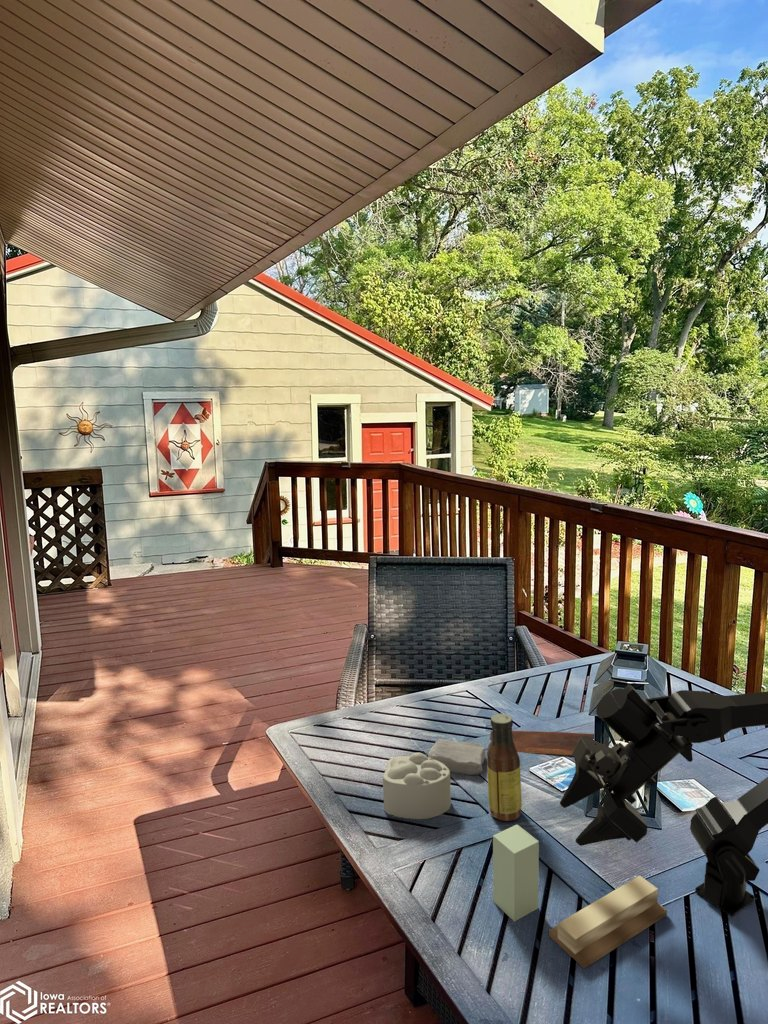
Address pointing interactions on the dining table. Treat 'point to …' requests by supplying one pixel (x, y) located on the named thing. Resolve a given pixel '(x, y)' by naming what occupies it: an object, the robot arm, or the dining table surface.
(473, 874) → the dining table surface
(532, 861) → the sage post
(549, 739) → the wooden tablet
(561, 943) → the birch ridge
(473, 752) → the stone block
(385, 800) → the lumpy-topped squat cylinder
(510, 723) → the sauce bottle
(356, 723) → the dining table surface
